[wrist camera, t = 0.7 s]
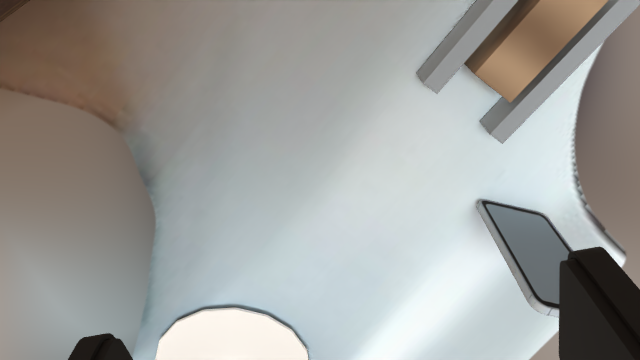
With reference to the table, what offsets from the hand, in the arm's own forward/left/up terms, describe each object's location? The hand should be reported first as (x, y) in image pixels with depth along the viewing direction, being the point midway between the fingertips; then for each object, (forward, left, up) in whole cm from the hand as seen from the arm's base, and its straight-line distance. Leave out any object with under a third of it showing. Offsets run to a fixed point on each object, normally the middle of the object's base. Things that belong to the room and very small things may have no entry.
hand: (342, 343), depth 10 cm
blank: (-10, +13, -34) cm, 37 cm away
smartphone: (+3, +25, -34) cm, 42 cm away
